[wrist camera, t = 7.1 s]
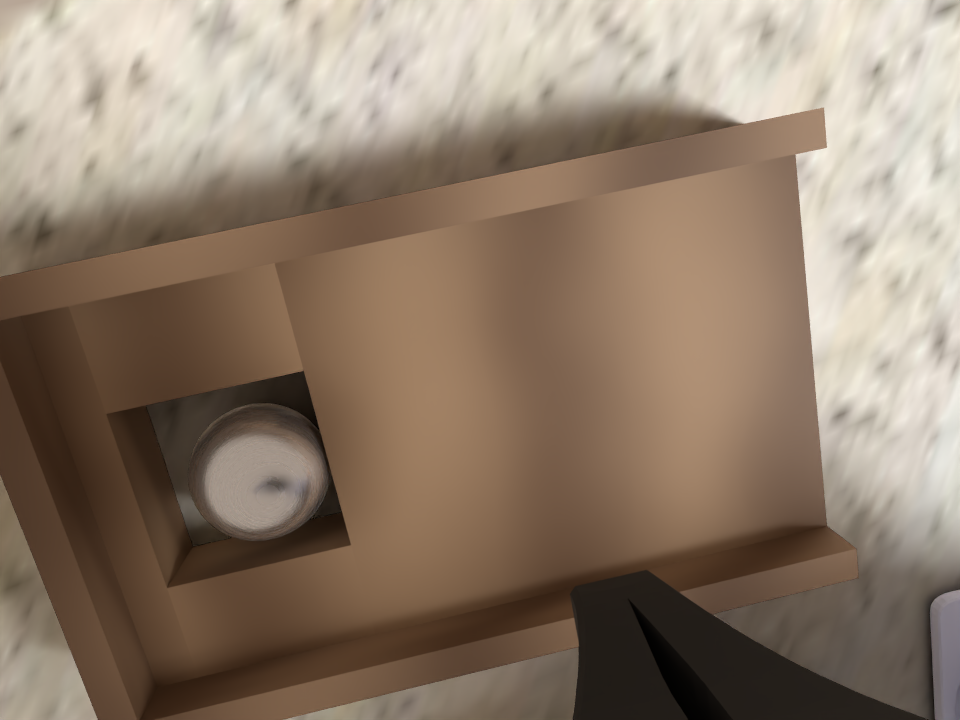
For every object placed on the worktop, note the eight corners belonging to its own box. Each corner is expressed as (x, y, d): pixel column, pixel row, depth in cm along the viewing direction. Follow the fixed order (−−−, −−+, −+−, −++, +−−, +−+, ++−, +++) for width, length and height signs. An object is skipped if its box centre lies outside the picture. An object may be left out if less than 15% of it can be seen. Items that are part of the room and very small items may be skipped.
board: (748, 124, 17) (823, 107, 14) (787, 519, 20) (858, 578, 17) (19, 274, 16) (-73, 292, 13) (162, 668, 19) (114, 760, 16)
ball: (300, 373, 18) (322, 404, 15) (332, 483, 19) (358, 533, 16) (170, 412, 17) (166, 453, 14) (210, 527, 18) (215, 587, 15)
